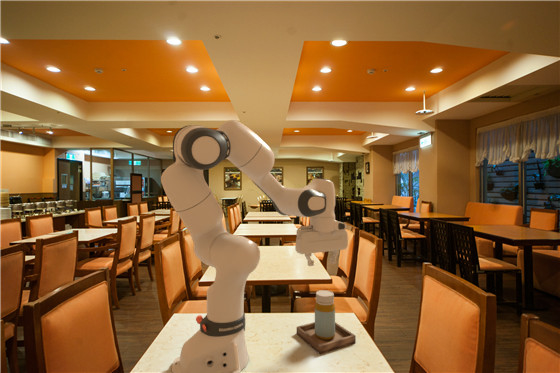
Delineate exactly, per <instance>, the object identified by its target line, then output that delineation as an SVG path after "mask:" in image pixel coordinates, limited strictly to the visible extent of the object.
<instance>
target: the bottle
mask: <svg viewBox="0 0 560 373" xmlns="http://www.w3.org/2000/svg"><path fill="white" fill-rule="evenodd" d="M334 302H335V294H334V292H333V291H331V290H326V289H320V290H317V291H316V292H315V304H314V322H315V335H316V336H317V338H319V339H321V340H331V339H332V338H333V337H334V336H335V322H336V306H335V304H334Z"/></svg>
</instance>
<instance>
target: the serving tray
mask: <svg viewBox="0 0 560 373" xmlns="http://www.w3.org/2000/svg"><path fill="white" fill-rule="evenodd" d="M296 335H297V336H299V337H300V338H301V340H303V341H304V342H306V343H307V345H309V346H310V347H311V348H312V349H313V350H315V351H316V352H317V353H318V354H319V355H321V354H325V353H329V352H331V351H334V350H338V349H341V348H345V347H347V346H350V345H354V344H356V341H357V340H356V335H355V334H354V333H353V332H351V331H349V330H348V329H347V328H345V327H344V326H341V325H340V324H338V323H337V322H336V321H335V336H334V337H333V338H332V339H331V340H321V339H319V338H317V336H316V335H315V321H314V322H311V323H307V324H302V325H299V326H296Z"/></svg>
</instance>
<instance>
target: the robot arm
mask: <svg viewBox="0 0 560 373" xmlns="http://www.w3.org/2000/svg"><path fill="white" fill-rule="evenodd" d="M275 159H276V158H275V153H274V152H273V150H272V149H271V147H270V145H268V144H267V143H266V142H265V141H264V140H263V139H262V138H261V137H260V136H259V135H258V134H257V133H256V132H254V130H251V128H249V127H248V126H246V125H245V124H243V123H242V122H240V121H239V120H235V119H231V120H227V121H225V122H223V123H221V125H220V126H218V128H217V129H213V128H210V127H205V126H202V125H198V124H193V125H192V124H191V125H190V124H189V125H185V126H183V127H181V128H180V129H178V130H177V132H176V133H175V134H174V136H173V140H172V160H173V162H174V163H172V164H170V165H169V166H168V167H167V168H165V170H163V172H162V174H161V176H160V183H161V185H162V188H163V190H164V192H165V195H166V196H167V200H168V201H169V203H170V205H171V206H172V208H173V210H174V211H175V212H176V214H177V215H178V217H179V219H180V220H181V221H182V223H183V224H184V226H185V228H186V229H187V230H188V232H189V234H190V237H191V240H192V242H193V252H194V255H195V257H196V258H198V260H199V261H200V262H202V263H203V264H204V265H207V266H209V267H211V268H214V269H215V276H214V281H213V282H212V284H211V285H210V286H208V289H207V292H206V315H205V316H202V315H201V314H200V315H196V317H195V321H196V322H197V324H198V325H199V329H198V330H197V331H196V332H195V333H194V334H192V336H191V337H190V338H188V339H187V340H186V341H185V342H184V343H183V345H182V347H181V350H180V355H179V356H178V357H176V358H175V359H174V360H173V361H172V365H171V373H242V370H243V369H244V368H246V367H247V365H248V364H249V363H250V362H249V361H250V356H249V353H248V350H247V345H246V338H245V337H246V336H245V335H246V334H245V331H246V312H244V308H245V307H244V303H245V289H246V288H245V287H246V283H247V280H248V278H249V276H250V274H251V273H252V272H254V271H255V270H256V268H257V267H258V265H259V262H260V260H261V251H260V248H259V246H258V244H257V243H256V242H254V241H252V240H251V239H249V238H247V237H246V236H242V235H239V234H233V233H230V232H229V231H227V230H226V228H225V226H224V224H223V218H224V211H223V209H222V207H221V205H220V204H219V202H218V199H217V198H216V197H215V194H214V193H213V191H212V190H211V188H210V186H209V185H208V183H207V182H206V180H205V176H204V171H205V170H209V169H210V170H211V169H212V168H215V167H216V166H218V165H219V164H220V163H221V162H223V161H224V160H228V161H229V162H230V163H231V164H233V165H234V166H235V167H236V168H237V169H238V170H239V171H240V172H242V173H243V174H244V175H245V176H247V177H248V179H250V181H252V183H253V184H254V185H255V186H256V187H257V188H258V189H259V190H260V191H261V192H262V193H263V194H264V195H265V196H266V197H267V198H268V199H269V201H271V204H272V205H273V207H274V209H275V211H276V212H277V213H278V214H280V215H281V216H291V217H301V218H309V225H306V226H305V225H301V226H300V227H299V228H297V230H296V238H295V245H294V246H295V252H296V253H297V254H299V255H304V257H305V258H306V260H307V266H308V267H313V266H315V264H314V263H315V261H314V260H313V259H312V258H311V257H312V254H317V253H326V252H332V255H331V257H329V263H330V264H336V263H337V257H338V256H339V254H340V251H341V250H342V251H343V250H346V249H347V248H348V246H349V244H348V243H349V237H348V232H347V229H348V225H347V223H346V222H342V221H338V220H336V214H335V207H336V189H335V184H334V182H333V181H332V180H329V179H326V178H321V177H320V178H313V179H312V180H311V182H309V184H307V185H305V186H302V187H300V188H299V187H298V188H297V187H296V188H295V187H293V188H292V187H288V186H284V185H282V184H281V182H280V181H278V180H277V179H276V178H275V176H274V175H273V174H272V173H271V171H272V170H273V167H274V166H275Z"/></svg>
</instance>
